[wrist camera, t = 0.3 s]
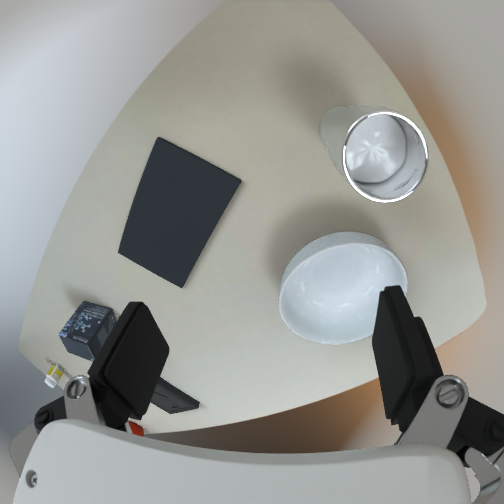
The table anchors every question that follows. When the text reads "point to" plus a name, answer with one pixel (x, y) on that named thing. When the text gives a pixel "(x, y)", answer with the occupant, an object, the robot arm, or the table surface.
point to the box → (87, 330)
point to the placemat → (175, 211)
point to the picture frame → (172, 398)
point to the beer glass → (375, 150)
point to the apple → (136, 429)
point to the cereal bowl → (338, 287)
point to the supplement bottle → (54, 375)
